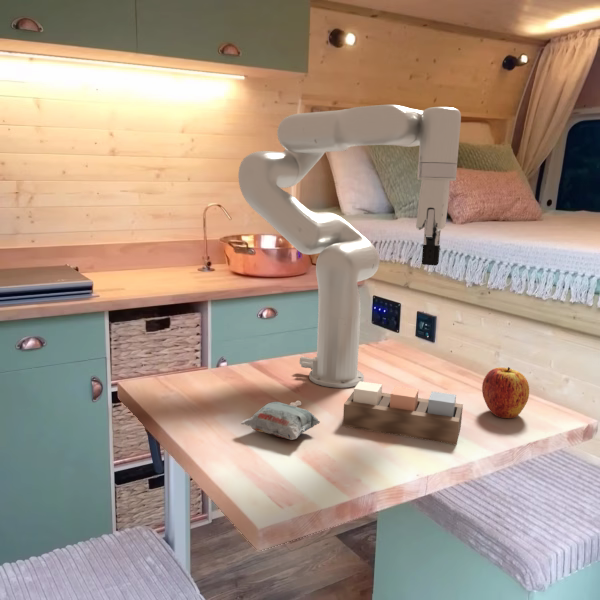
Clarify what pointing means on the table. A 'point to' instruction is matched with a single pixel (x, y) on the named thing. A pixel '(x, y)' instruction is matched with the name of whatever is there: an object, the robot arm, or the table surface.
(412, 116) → the robot arm
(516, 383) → the apple
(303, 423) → the packaged food
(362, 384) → the key cream
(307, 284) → the table surface
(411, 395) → the key terracotta
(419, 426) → the frame block
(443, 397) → the grey block
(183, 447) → the table surface
